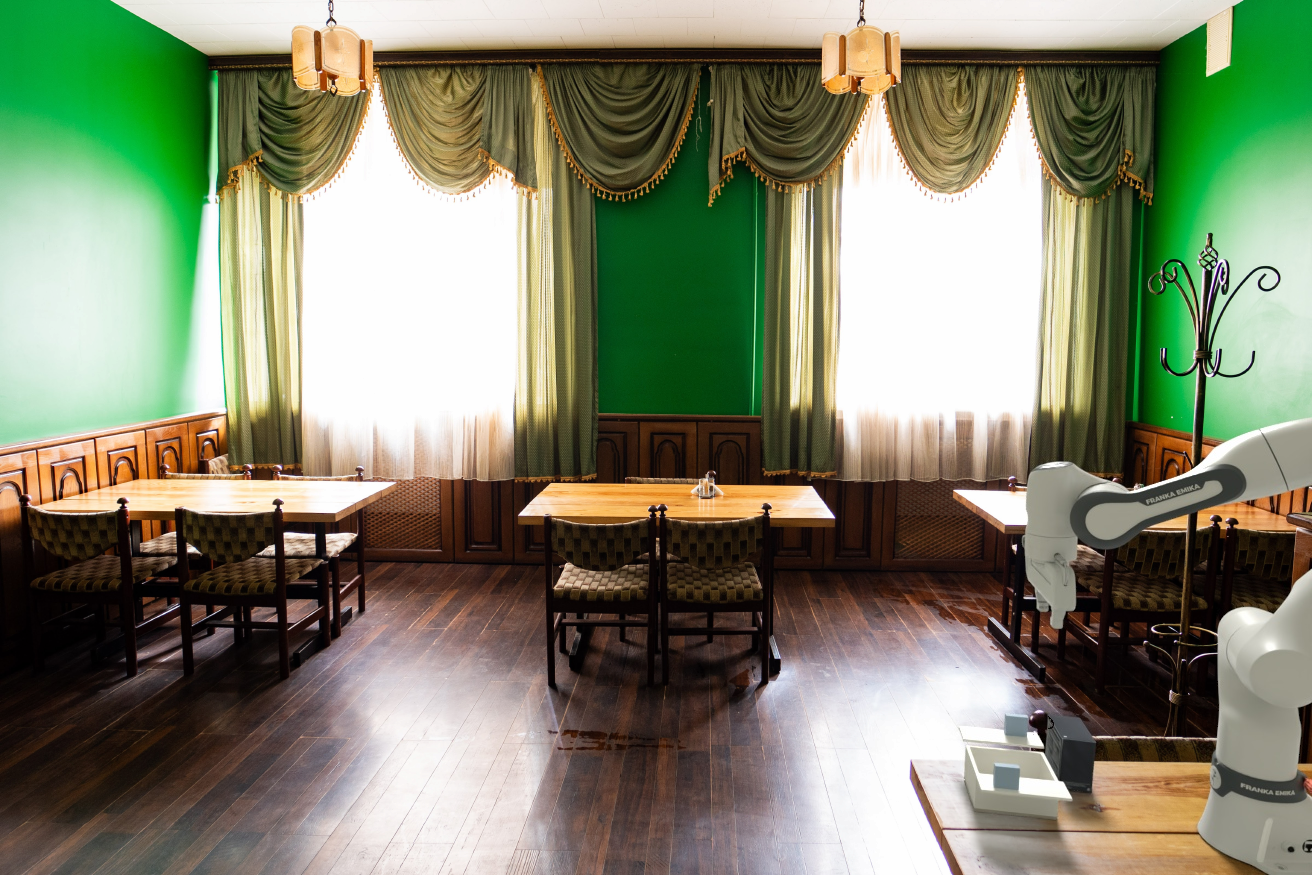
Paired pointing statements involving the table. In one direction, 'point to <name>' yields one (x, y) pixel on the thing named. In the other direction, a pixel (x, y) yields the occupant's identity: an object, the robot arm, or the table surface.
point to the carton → (1030, 767)
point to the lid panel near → (1020, 784)
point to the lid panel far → (1004, 733)
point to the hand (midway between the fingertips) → (1049, 618)
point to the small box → (1071, 752)
